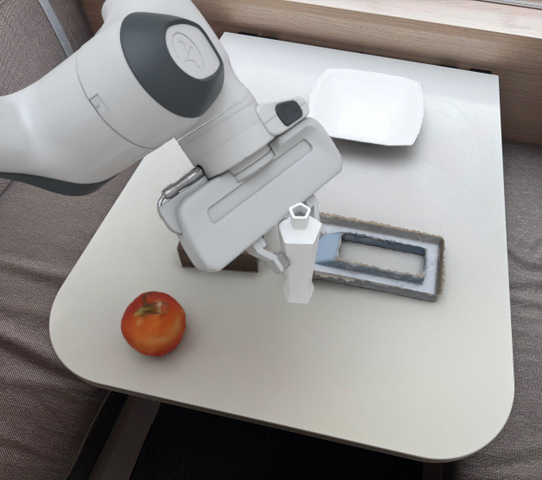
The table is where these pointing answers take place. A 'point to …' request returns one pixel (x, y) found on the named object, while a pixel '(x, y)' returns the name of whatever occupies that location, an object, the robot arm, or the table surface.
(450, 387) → the table surface
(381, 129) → the bowl
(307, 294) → the perfume bottle
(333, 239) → the picture frame
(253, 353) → the table surface
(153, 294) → the tomato
